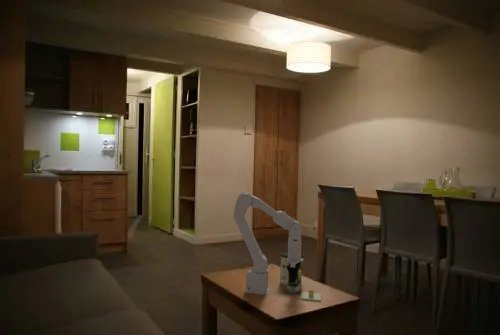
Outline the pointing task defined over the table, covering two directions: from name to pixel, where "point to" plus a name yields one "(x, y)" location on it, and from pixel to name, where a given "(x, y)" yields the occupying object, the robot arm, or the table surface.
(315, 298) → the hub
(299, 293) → the mat
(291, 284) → the ring
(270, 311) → the table surface
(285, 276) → the coffee can
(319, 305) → the table surface
